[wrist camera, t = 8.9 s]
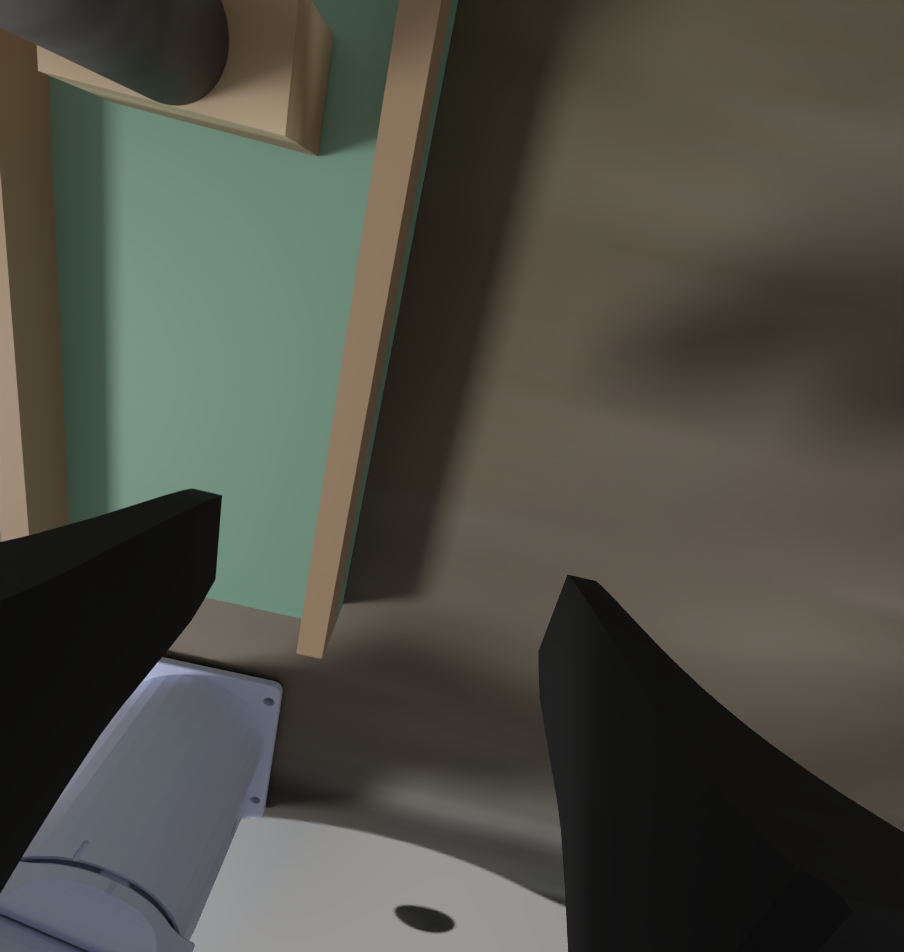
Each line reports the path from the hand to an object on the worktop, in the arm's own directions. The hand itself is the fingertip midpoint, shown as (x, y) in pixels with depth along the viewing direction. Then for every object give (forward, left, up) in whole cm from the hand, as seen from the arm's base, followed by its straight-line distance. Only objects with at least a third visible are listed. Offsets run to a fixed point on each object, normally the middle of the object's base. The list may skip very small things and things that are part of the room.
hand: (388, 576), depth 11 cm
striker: (+9, +8, -9) cm, 15 cm away
